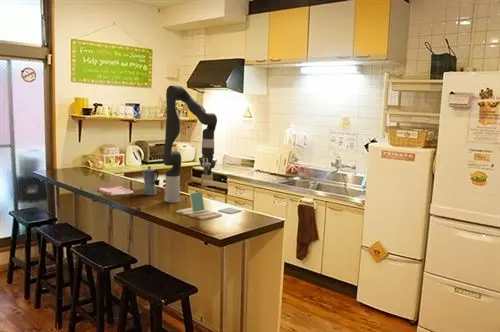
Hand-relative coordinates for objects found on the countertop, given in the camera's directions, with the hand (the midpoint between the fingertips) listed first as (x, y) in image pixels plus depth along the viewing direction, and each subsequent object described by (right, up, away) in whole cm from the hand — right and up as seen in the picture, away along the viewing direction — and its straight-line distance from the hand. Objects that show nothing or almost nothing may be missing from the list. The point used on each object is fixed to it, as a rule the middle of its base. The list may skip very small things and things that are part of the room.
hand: (207, 174), depth 256 cm
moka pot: (-44, -15, +41) cm, 62 cm away
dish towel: (-70, -14, +45) cm, 85 cm away
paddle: (0, -7, +1) cm, 7 cm away
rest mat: (+14, -22, 0) cm, 26 cm away
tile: (-5, -16, -10) cm, 19 cm away
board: (-4, -23, -10) cm, 25 cm away
